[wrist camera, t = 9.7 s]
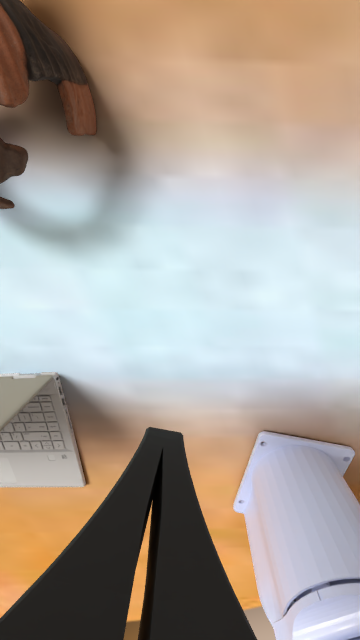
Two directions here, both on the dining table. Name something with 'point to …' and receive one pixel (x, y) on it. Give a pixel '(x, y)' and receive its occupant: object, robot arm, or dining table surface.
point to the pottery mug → (37, 78)
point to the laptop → (36, 433)
